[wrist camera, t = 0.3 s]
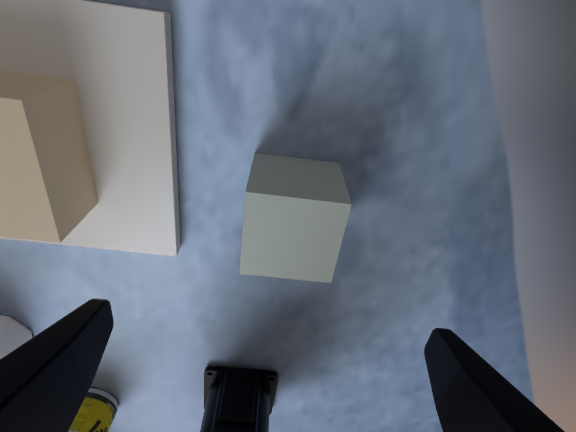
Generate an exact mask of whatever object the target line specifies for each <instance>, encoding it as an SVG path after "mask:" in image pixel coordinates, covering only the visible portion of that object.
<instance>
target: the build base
mask: <svg viewBox="0 0 576 432" xmlns="http://www.w3.org/2000/svg"><path fill="white" fill-rule="evenodd" d="M0 238H1V239H11V240H21V241H30V242H40V243H50V244H60V245H69V246H79V247H89V248H99V249H109V250H118V251H128V252H138V253H148V254H157V255H167V256H177V255H178V252H179V250H180V248H181V243H180V220H179V197H178V174H177V151H176V128H175V105H174V82H173V59H172V36H171V13H170V12H166V11H159V10H153V9H146V8H139V7H132V6H126V5H119V4H112V3H106V2H99V1H92V0H0Z"/></svg>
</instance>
